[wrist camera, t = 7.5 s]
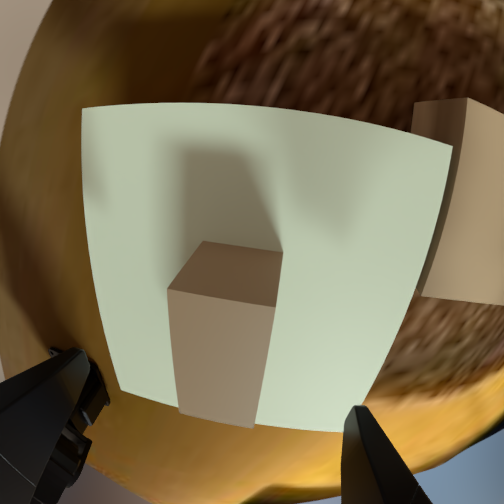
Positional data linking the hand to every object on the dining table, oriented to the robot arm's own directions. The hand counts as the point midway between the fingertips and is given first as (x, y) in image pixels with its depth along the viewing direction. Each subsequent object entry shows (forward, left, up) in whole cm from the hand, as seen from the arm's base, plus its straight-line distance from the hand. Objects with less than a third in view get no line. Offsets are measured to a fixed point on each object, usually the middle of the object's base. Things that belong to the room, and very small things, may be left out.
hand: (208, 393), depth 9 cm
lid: (0, 0, -6) cm, 6 cm away
